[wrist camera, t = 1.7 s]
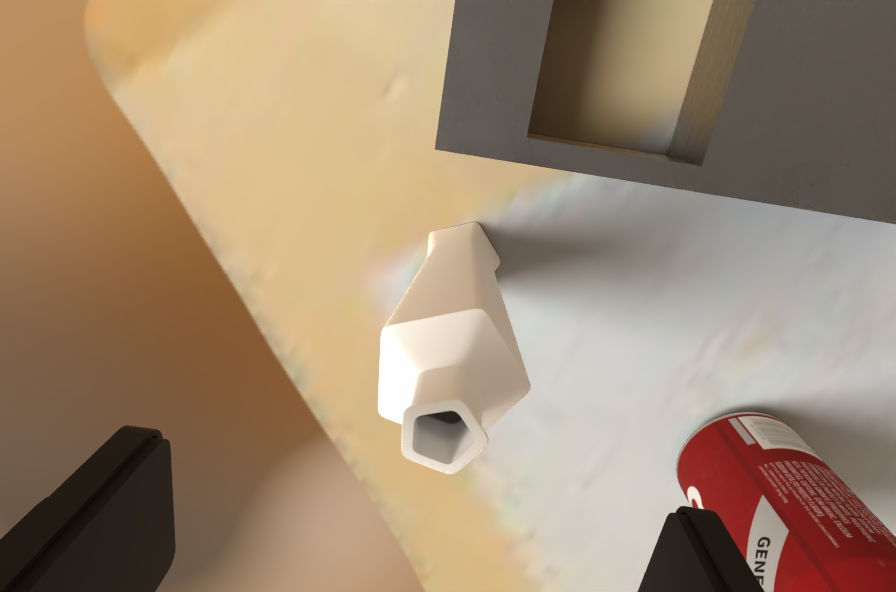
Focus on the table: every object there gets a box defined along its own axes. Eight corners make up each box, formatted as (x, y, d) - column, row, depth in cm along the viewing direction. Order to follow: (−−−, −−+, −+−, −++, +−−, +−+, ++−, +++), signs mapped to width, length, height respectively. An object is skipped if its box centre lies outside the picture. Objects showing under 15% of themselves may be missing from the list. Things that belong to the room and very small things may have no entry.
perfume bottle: (502, 304, 27) (528, 521, 13) (418, 296, 27) (357, 503, 13) (513, 218, 26) (556, 362, 12) (424, 210, 26) (361, 343, 12)
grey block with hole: (1002, 2, 21) (1113, -19, 18) (901, 216, 25) (976, 237, 21) (473, -85, 21) (472, -124, 18) (441, 141, 25) (434, 149, 21)
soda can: (727, 383, 28) (891, 571, 17) (821, 441, 29) (1035, 654, 18) (647, 468, 30) (745, 684, 19) (737, 519, 31) (881, 753, 20)
